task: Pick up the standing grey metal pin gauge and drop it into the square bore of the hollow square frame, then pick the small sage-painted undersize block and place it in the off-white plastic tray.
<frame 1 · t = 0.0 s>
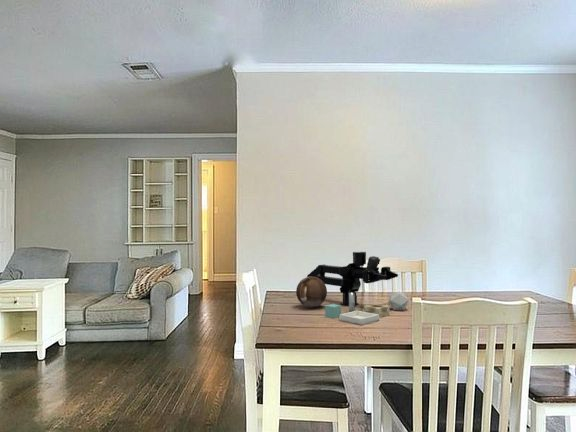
hand: (392, 276, 217), 17 cm above the table, tool horizontal, fingers open, 9 cm apart
wooden sphere: (311, 307, 230), on the table
undersize block: (333, 316, 209), on the table
hollow square frame: (376, 315, 212), on the table
die: (398, 309, 223), on the table
tray: (359, 320, 201), on the table
pin gauge: (351, 312, 218), on the table
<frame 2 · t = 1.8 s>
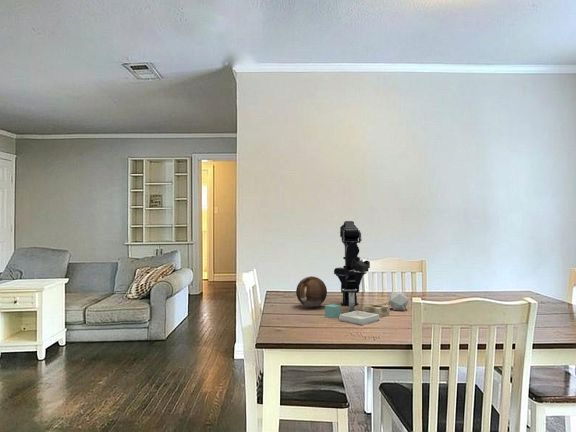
hand: (351, 288, 218), 11 cm above the table, tool pointing down, fingers open, 9 cm apart
nothing on the table moved.
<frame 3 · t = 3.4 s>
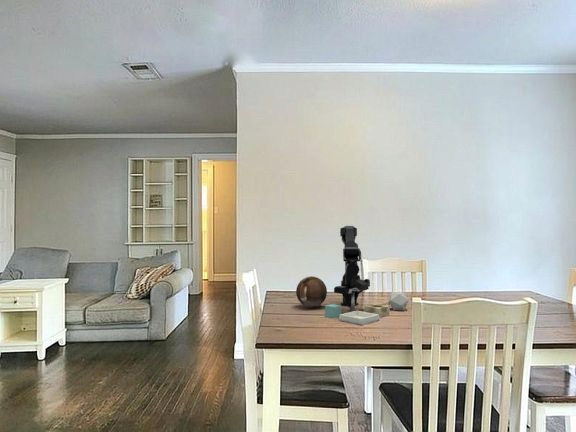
hand: (351, 306, 218), 3 cm above the table, tool pointing down, fingers closed on pin gauge, 3 cm apart
pin gauge: (351, 312, 218), on the table, touching gripper
everything else where it was.
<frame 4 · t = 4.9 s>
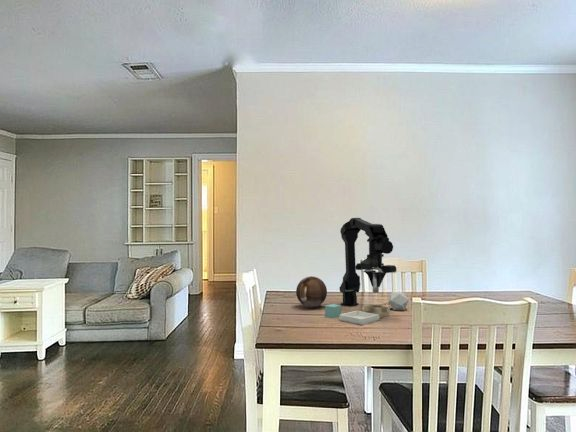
hand: (375, 286, 212), 13 cm above the table, tool pointing down, fingers closed on pin gauge, 3 cm apart
pin gauge: (375, 292, 211), point 10 cm above the table, touching gripper
everything else where it was.
when the fingers open (5 cm above the table, at t = 6.5 s): pin gauge drops 2 cm, resting in hollow square frame.
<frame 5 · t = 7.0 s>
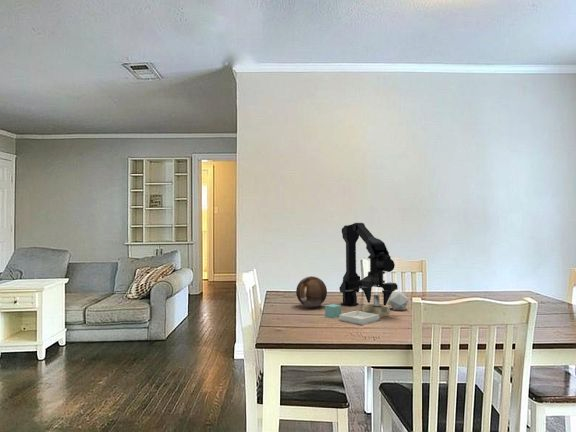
hand: (376, 303, 212), 5 cm above the table, tool pointing down, fingers open, 8 cm apart
pin gauge: (376, 315, 212), resting in hollow square frame
everything else where it was.
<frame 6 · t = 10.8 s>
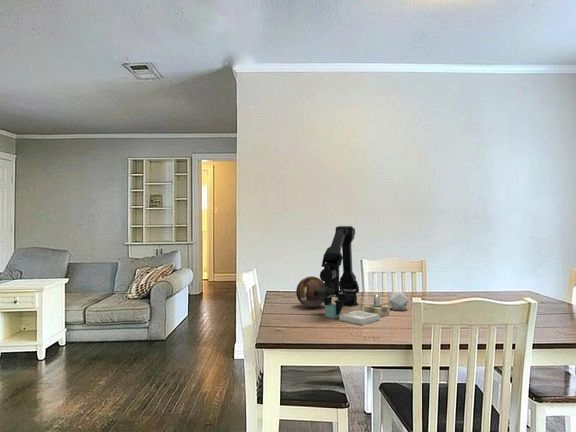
hand: (333, 314, 209), 1 cm above the table, tool pointing down, fingers closed on undersize block, 5 cm apart
undersize block: (333, 316, 209), on the table, touching gripper
everything else where it was.
when the fingers open (3 cm above the table, at t = 14.4 s): undersize block drops 2 cm, resting on tray.
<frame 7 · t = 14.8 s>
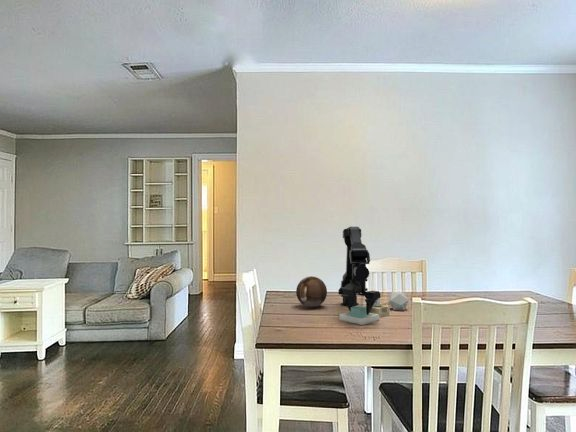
hand: (359, 313, 201), 3 cm above the table, tool pointing down, fingers open, 9 cm apart
undersize block: (359, 319, 201), point 1 cm above the table, touching tray
everything else where it was.
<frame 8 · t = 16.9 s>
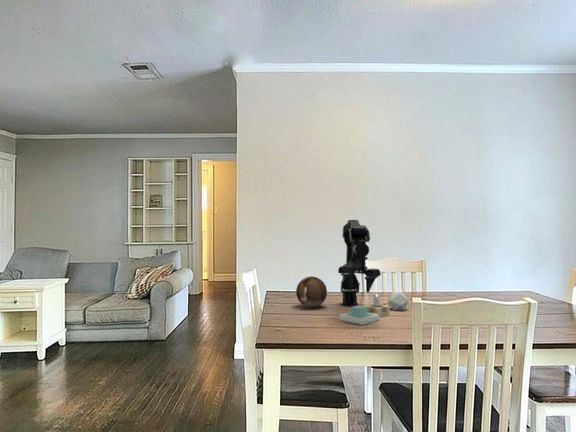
hand: (358, 291, 201), 12 cm above the table, tool pointing down, fingers open, 9 cm apart
nothing on the table moved.
at the end: undersize block inside the target area on the tray (0.0 cm from its centre), point 0.6 cm above the tray's base; pin gauge 0.1 cm from the hollow square frame (horizontally); pin gauge resting in hollow square frame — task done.
